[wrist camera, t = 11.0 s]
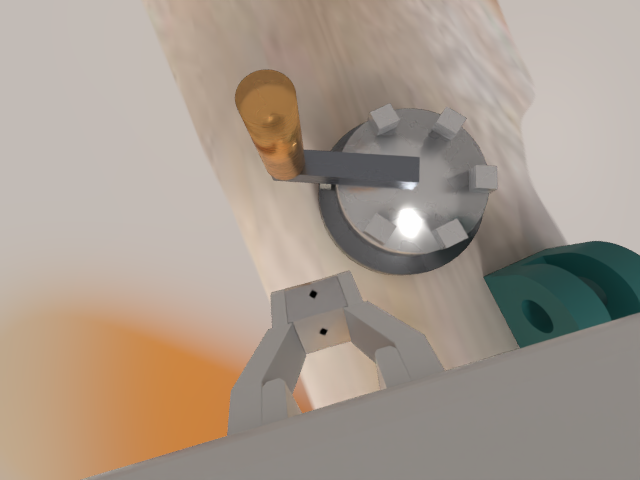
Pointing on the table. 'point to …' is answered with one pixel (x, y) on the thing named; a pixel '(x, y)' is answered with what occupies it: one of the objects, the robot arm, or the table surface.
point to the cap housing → (370, 256)
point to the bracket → (567, 290)
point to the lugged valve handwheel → (378, 168)
